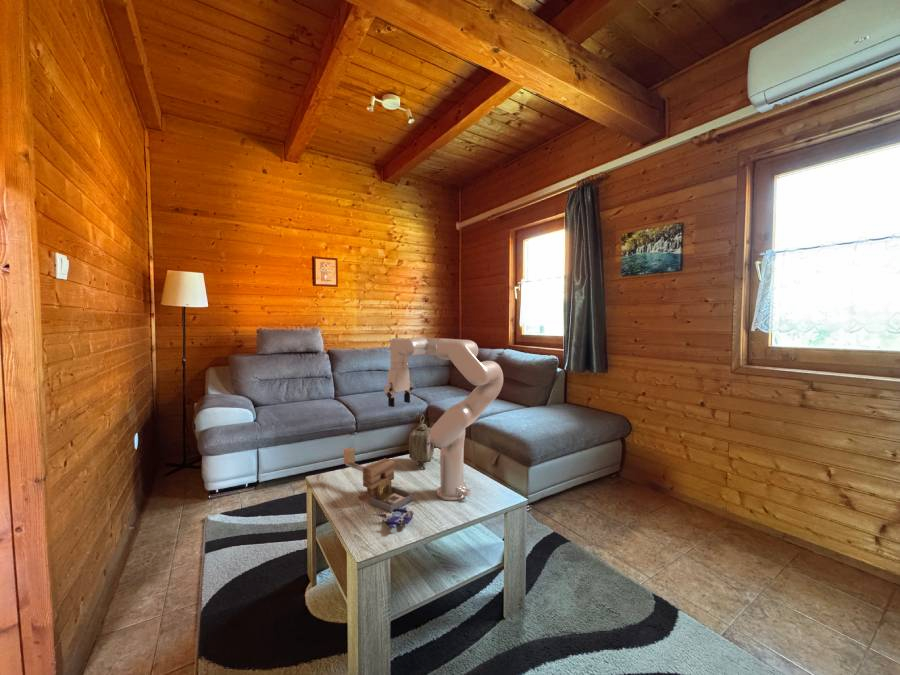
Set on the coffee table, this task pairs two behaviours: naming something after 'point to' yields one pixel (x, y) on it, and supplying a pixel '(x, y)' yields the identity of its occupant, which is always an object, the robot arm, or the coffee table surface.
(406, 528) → the coffee table surface
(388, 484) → the bar
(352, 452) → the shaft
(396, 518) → the toy airplane
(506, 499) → the coffee table surface
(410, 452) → the old lantern
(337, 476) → the coffee table surface
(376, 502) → the tray
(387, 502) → the square wooden ring
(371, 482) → the bearing block
